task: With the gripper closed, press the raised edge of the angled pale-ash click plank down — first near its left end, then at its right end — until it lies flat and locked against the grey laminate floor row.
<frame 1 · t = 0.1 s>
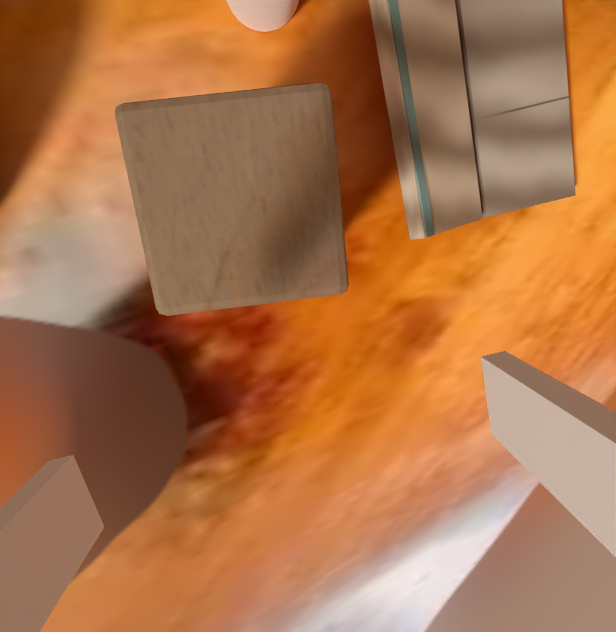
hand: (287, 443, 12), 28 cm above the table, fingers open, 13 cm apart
wooden block: (264, 219, 37), on the table
plank: (422, 51, 31), point 4 cm above the table, hinge at 32.0°
laid row: (504, 45, 35), on the table
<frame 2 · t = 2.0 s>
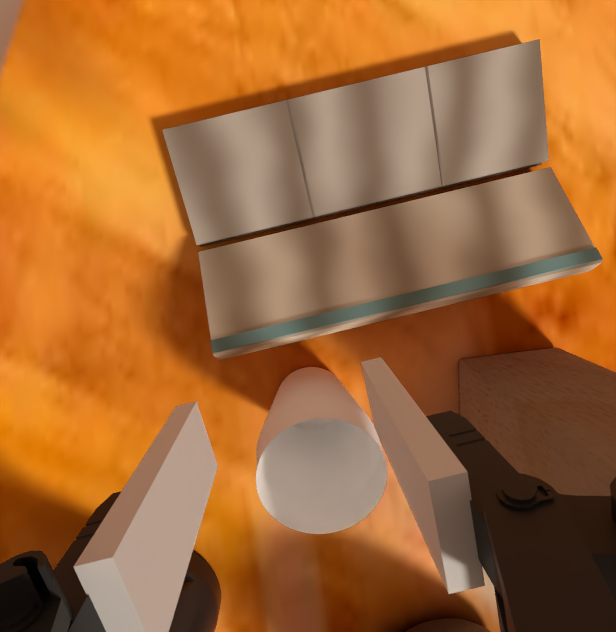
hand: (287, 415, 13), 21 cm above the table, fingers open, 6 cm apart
wooden block: (505, 397, 37), on the table
cup: (310, 397, 36), on the table
plank: (389, 261, 30), point 4 cm above the table, hinge at 32.0°
laid row: (358, 150, 31), on the table
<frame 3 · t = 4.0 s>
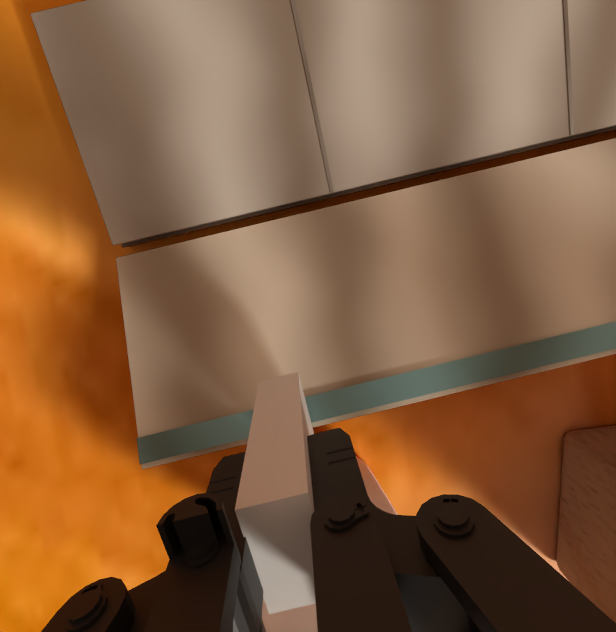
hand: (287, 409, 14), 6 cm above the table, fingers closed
cup: (321, 493, 22), on the table
plank: (471, 277, 16), point 3 cm above the table, hinge at 26.8°, touching gripper
laid row: (413, 69, 17), on the table
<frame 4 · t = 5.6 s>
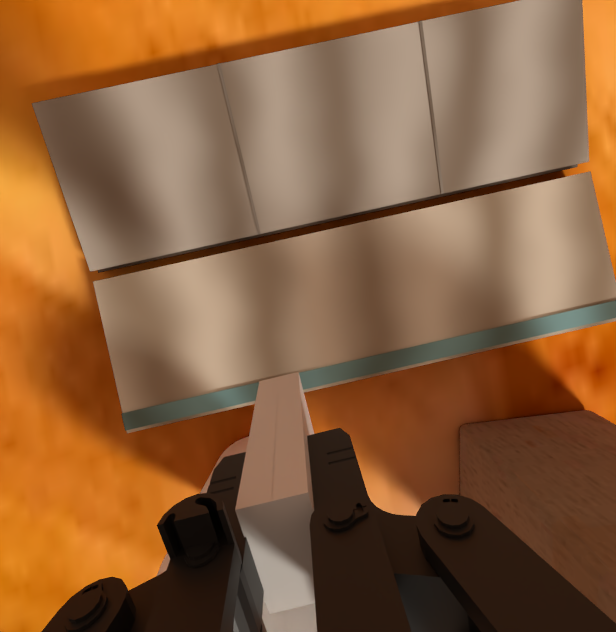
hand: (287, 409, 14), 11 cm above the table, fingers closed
wooden block: (519, 472, 28), on the table
cup: (261, 473, 27), on the table
plank: (360, 301, 22), point 2 cm above the table, hinge at 12.9°
laid row: (324, 141, 22), on the table
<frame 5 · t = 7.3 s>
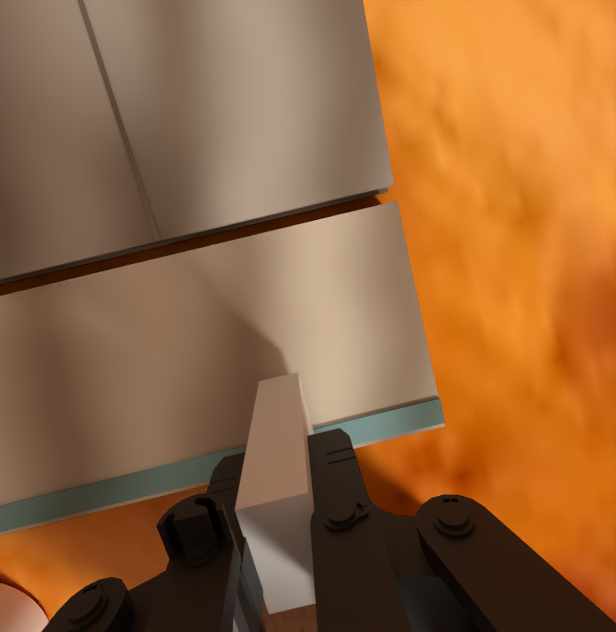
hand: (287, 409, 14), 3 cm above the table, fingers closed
wooden block: (364, 609, 20), on the table
plank: (54, 402, 15), point 2 cm above the table, hinge at 7.9°, touching gripper
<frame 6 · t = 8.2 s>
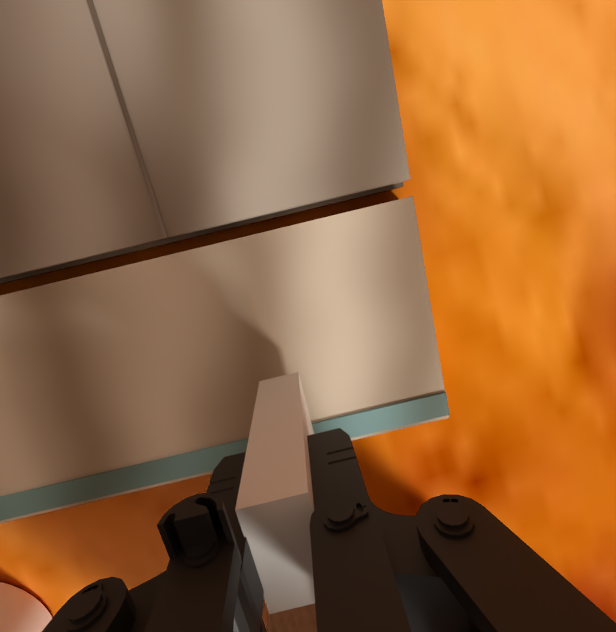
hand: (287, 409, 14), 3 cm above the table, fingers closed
wooden block: (374, 616, 20), on the table
plank: (68, 395, 15), point 1 cm above the table, hinge at 0.6°
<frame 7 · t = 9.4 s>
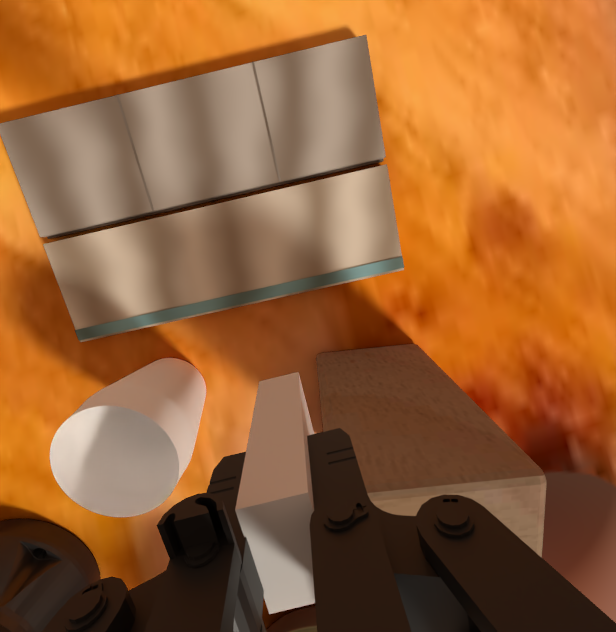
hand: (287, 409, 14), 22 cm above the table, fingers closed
wooden block: (368, 392, 38), on the table
cup: (173, 387, 37), on the table
plank: (228, 256, 33), point 1 cm above the table, hinge at 0.6°
laid row: (200, 145, 32), on the table
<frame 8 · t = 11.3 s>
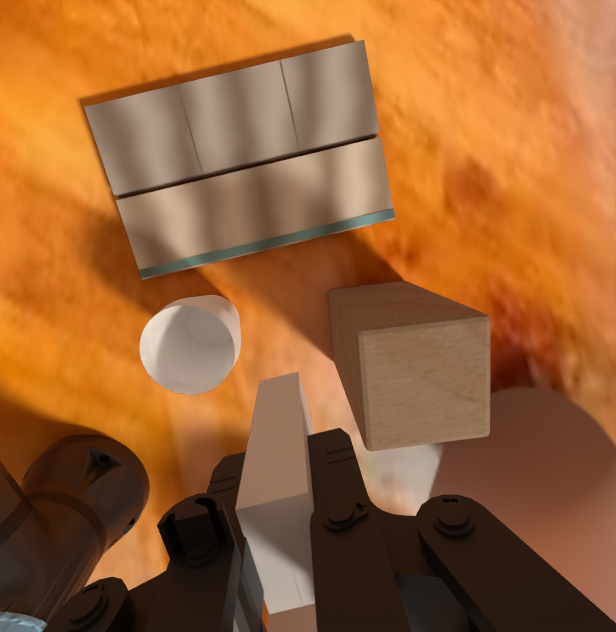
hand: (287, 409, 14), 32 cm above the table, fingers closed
wooden block: (369, 322, 47), on the table
cup: (213, 320, 46), on the table
plank: (259, 210, 42), point 1 cm above the table, hinge at 0.6°
vase: (329, 541, 54), on the table
laid row: (237, 123, 41), on the table
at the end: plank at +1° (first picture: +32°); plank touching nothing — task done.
